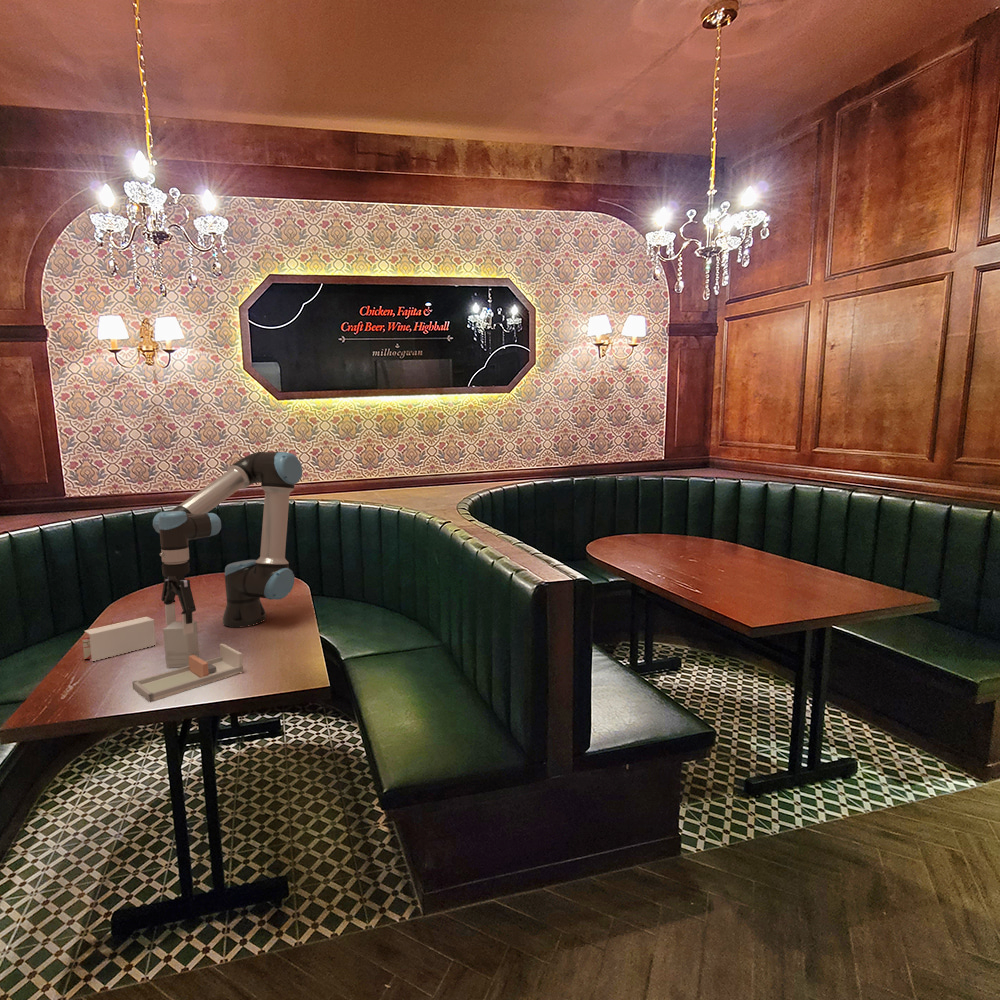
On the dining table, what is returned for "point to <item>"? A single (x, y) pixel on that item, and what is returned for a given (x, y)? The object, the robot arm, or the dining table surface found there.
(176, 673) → the beige shallow tray
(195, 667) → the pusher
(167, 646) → the supplement box
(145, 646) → the cigarette display
